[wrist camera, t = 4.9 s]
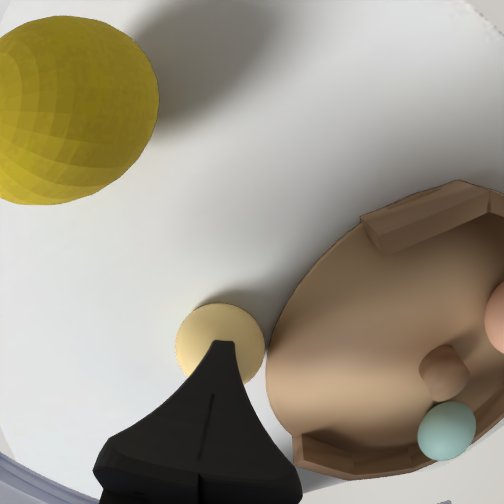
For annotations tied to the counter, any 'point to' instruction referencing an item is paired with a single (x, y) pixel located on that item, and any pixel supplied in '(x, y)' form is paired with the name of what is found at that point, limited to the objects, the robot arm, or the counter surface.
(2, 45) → the lemon
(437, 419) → the bead teal
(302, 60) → the counter surface
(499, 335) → the bead terracotta
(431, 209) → the groove tray
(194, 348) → the pale yellow ball
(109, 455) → the robot arm
